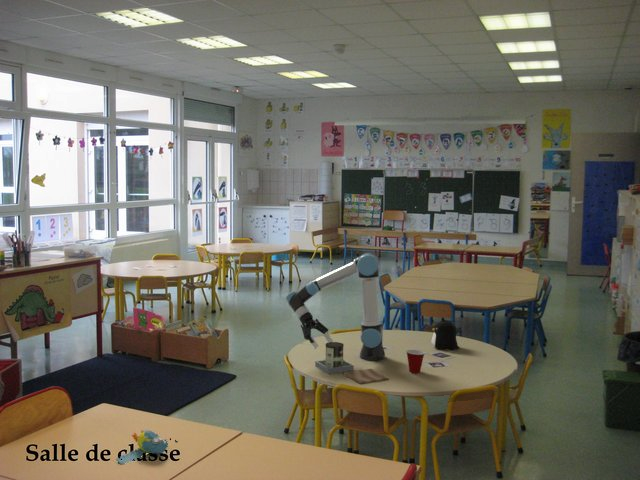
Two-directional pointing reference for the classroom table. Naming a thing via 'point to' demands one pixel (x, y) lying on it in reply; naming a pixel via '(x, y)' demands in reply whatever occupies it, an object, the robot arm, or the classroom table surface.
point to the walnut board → (365, 376)
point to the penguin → (444, 335)
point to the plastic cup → (415, 360)
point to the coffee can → (334, 354)
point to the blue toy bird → (145, 446)
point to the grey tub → (344, 368)
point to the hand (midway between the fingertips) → (324, 345)
